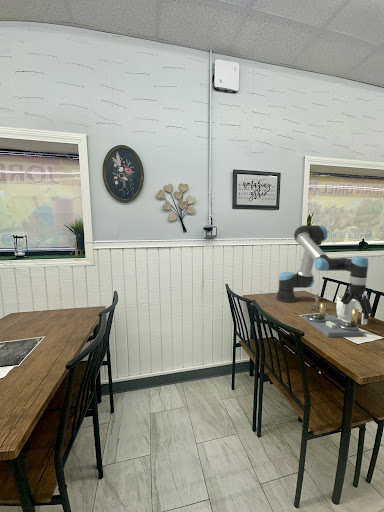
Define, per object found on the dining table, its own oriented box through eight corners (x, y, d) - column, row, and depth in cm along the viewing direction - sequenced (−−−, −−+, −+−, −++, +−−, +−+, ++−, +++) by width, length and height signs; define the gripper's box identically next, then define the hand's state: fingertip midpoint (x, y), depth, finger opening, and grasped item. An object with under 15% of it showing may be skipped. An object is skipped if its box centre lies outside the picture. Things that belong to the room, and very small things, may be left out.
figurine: (323, 308, 164) (324, 293, 162) (326, 312, 157) (327, 296, 156) (307, 307, 166) (308, 292, 164) (309, 310, 159) (311, 295, 158)
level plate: (303, 319, 145) (304, 312, 144) (332, 318, 146) (333, 311, 145) (328, 337, 121) (328, 328, 120) (362, 336, 122) (363, 328, 121)
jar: (357, 324, 137) (360, 301, 135) (339, 323, 139) (341, 300, 137) (349, 317, 147) (351, 296, 145) (332, 316, 149) (334, 295, 147)
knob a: (307, 320, 136) (308, 304, 135) (305, 314, 145) (306, 299, 144) (326, 323, 132) (327, 306, 131) (323, 317, 141) (324, 301, 140)
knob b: (346, 331, 122) (347, 312, 121) (333, 323, 132) (335, 306, 131) (363, 330, 123) (364, 312, 121) (349, 323, 133) (351, 306, 131)
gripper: (384, 289, 112) (379, 328, 115) (347, 278, 137) (344, 311, 139) (370, 289, 112) (366, 328, 114) (336, 278, 137) (333, 311, 139)
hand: (354, 319), depth 127 cm, fingers open, 13 cm apart
